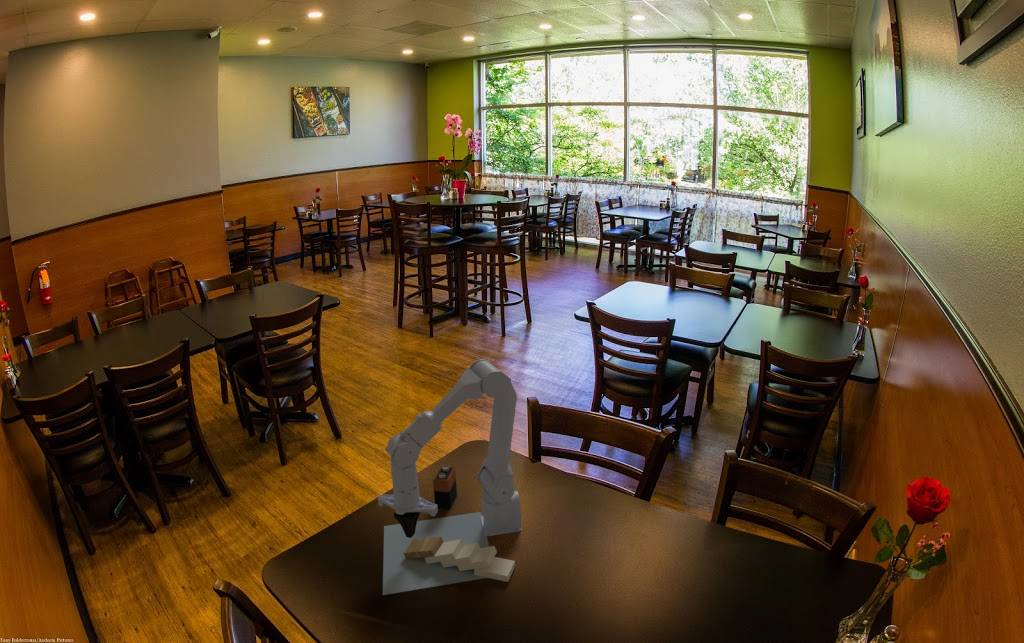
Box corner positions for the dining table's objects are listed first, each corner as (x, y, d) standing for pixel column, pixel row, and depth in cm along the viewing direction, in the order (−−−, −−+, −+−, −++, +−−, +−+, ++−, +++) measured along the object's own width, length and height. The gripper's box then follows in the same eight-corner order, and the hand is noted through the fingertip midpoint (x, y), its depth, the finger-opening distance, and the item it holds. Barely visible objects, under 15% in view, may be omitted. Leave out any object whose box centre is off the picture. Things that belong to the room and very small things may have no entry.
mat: (481, 513, 154) (480, 511, 154) (496, 577, 132) (496, 576, 132) (384, 527, 150) (384, 526, 150) (382, 596, 127) (382, 595, 127)
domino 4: (474, 568, 132) (507, 576, 129) (482, 554, 136) (514, 561, 134) (474, 574, 132) (507, 582, 130) (482, 559, 137) (515, 566, 134)
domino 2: (440, 561, 134) (469, 556, 131) (449, 547, 139) (477, 542, 136) (443, 567, 135) (472, 562, 131) (452, 553, 139) (480, 548, 136)
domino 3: (456, 565, 133) (486, 560, 130) (465, 550, 138) (494, 545, 134) (459, 571, 133) (489, 566, 130) (468, 556, 138) (497, 551, 134)
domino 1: (424, 558, 136) (452, 553, 132) (433, 544, 140) (461, 539, 137) (427, 563, 136) (455, 559, 133) (436, 549, 140) (464, 544, 137)
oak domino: (403, 553, 138) (431, 550, 134) (413, 539, 142) (441, 536, 139) (405, 558, 138) (434, 556, 135) (415, 545, 142) (443, 542, 139)
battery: (457, 495, 162) (455, 464, 159) (450, 510, 156) (447, 478, 153) (442, 494, 163) (440, 462, 160) (434, 509, 157) (431, 476, 153)
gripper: (368, 489, 133) (374, 539, 137) (426, 500, 128) (430, 552, 132) (384, 473, 139) (390, 521, 143) (440, 482, 135) (444, 532, 139)
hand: (410, 535), depth 138 cm, fingers closed
